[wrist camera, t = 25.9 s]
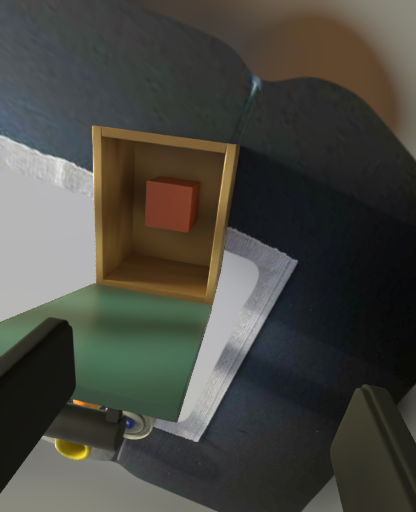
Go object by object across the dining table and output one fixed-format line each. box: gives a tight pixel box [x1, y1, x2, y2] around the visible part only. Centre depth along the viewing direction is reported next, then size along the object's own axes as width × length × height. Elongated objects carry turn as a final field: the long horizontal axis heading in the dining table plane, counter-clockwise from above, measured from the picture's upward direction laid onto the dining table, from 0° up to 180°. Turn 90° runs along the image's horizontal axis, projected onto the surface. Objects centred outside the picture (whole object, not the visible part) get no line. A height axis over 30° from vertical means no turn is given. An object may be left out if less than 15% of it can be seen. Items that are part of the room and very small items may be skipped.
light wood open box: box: [93, 125, 240, 305], centre depth 31 cm, size 16×13×9 cm
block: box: [145, 176, 201, 233], centre depth 32 cm, size 5×5×5 cm
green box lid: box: [0, 283, 212, 452], centre depth 22 cm, size 16×13×5 cm
